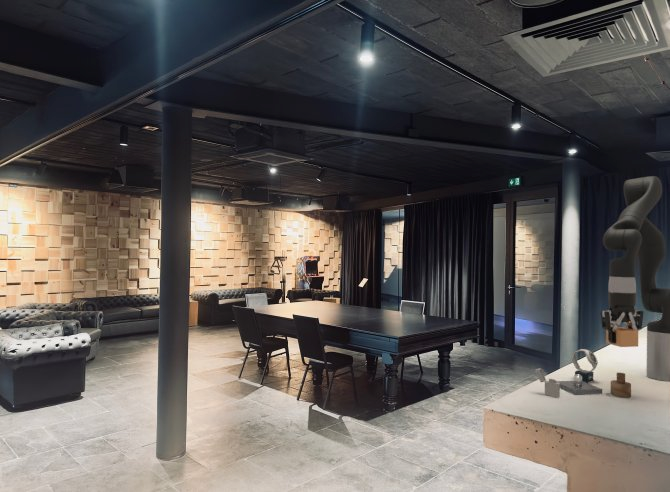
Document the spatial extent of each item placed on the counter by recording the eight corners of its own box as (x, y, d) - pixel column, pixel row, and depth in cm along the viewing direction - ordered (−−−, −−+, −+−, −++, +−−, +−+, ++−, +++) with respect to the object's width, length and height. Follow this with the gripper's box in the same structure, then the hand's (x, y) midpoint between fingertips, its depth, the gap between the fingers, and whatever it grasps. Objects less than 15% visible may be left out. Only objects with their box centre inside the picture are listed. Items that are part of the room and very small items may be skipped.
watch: (594, 384, 159) (594, 352, 159) (569, 379, 165) (570, 349, 165) (599, 381, 163) (599, 350, 163) (575, 376, 169) (575, 347, 169)
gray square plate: (581, 384, 158) (581, 370, 158) (602, 393, 148) (602, 378, 148) (554, 385, 157) (555, 371, 157) (574, 394, 147) (574, 379, 147)
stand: (621, 392, 150) (621, 371, 150) (635, 397, 145) (635, 375, 145) (606, 392, 150) (606, 371, 150) (619, 398, 144) (620, 376, 144)
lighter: (559, 396, 145) (560, 371, 145) (558, 397, 143) (558, 372, 143) (536, 391, 149) (536, 367, 149) (534, 393, 148) (535, 368, 148)
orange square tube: (622, 342, 151) (622, 327, 151) (638, 346, 145) (638, 330, 145) (606, 343, 150) (606, 327, 150) (621, 347, 144) (621, 331, 144)
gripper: (632, 289, 152) (632, 339, 152) (593, 290, 150) (593, 340, 150) (651, 291, 145) (651, 344, 145) (611, 292, 143) (611, 345, 142)
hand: (621, 342), depth 147 cm, fingers closed on orange square tube, 6 cm apart
